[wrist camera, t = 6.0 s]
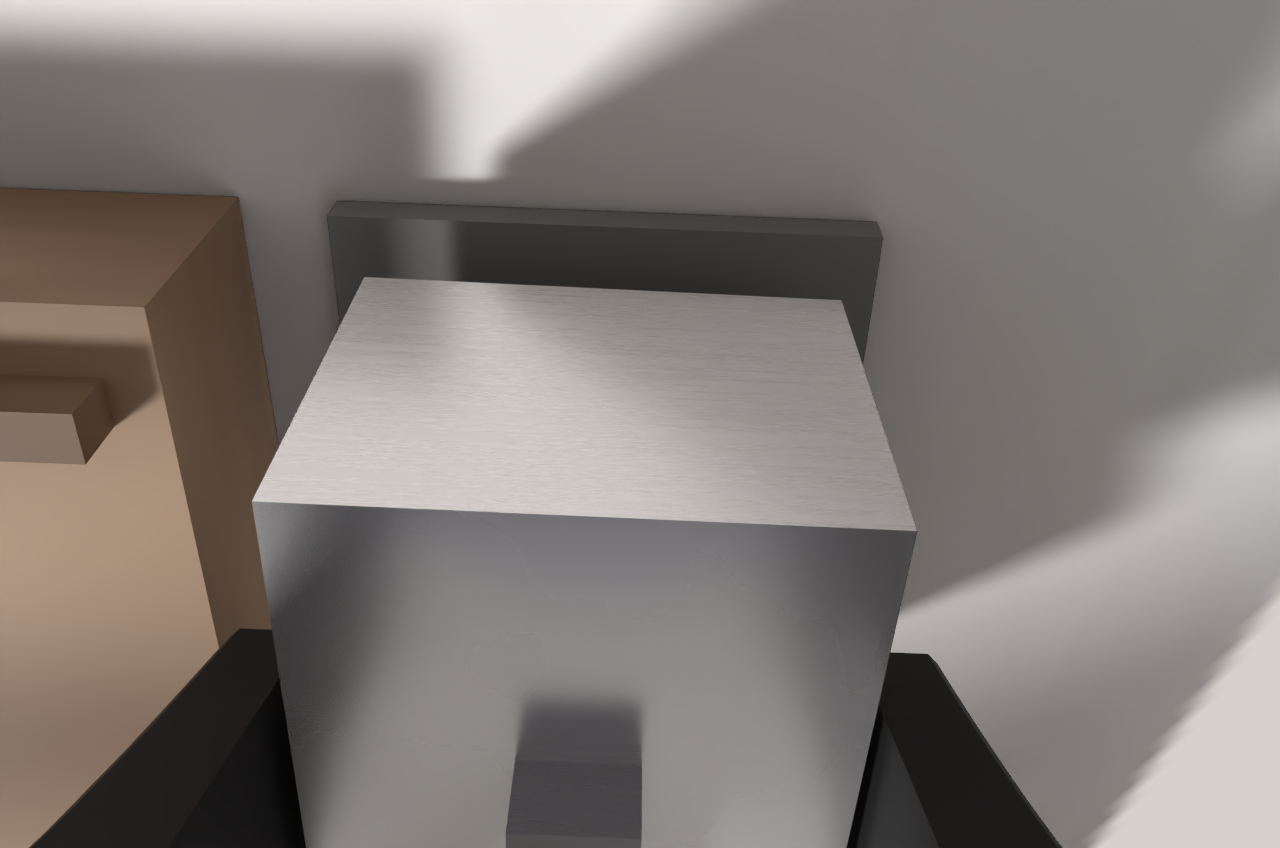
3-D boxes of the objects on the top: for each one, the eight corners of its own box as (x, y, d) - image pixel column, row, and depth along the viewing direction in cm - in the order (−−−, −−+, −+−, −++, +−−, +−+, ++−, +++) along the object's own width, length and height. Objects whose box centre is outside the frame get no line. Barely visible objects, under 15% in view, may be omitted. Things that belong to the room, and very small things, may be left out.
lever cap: (770, 744, 14) (813, 1108, 10) (401, 728, 14) (314, 1091, 10) (841, 300, 11) (938, 598, 7) (364, 276, 11) (216, 567, 7)
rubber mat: (802, 710, 15) (804, 732, 15) (392, 695, 15) (386, 717, 15) (876, 221, 12) (882, 236, 11) (337, 200, 12) (327, 216, 11)
